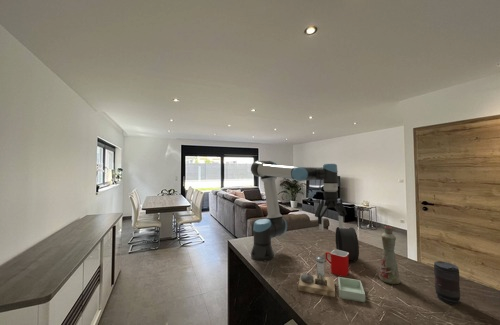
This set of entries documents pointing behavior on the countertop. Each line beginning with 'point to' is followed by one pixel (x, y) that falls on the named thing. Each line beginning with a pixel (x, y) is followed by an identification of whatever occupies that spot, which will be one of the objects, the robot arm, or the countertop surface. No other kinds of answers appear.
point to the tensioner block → (310, 285)
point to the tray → (351, 289)
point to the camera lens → (447, 282)
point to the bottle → (389, 258)
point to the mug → (339, 262)
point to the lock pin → (320, 270)
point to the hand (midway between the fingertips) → (331, 228)
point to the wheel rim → (347, 242)
